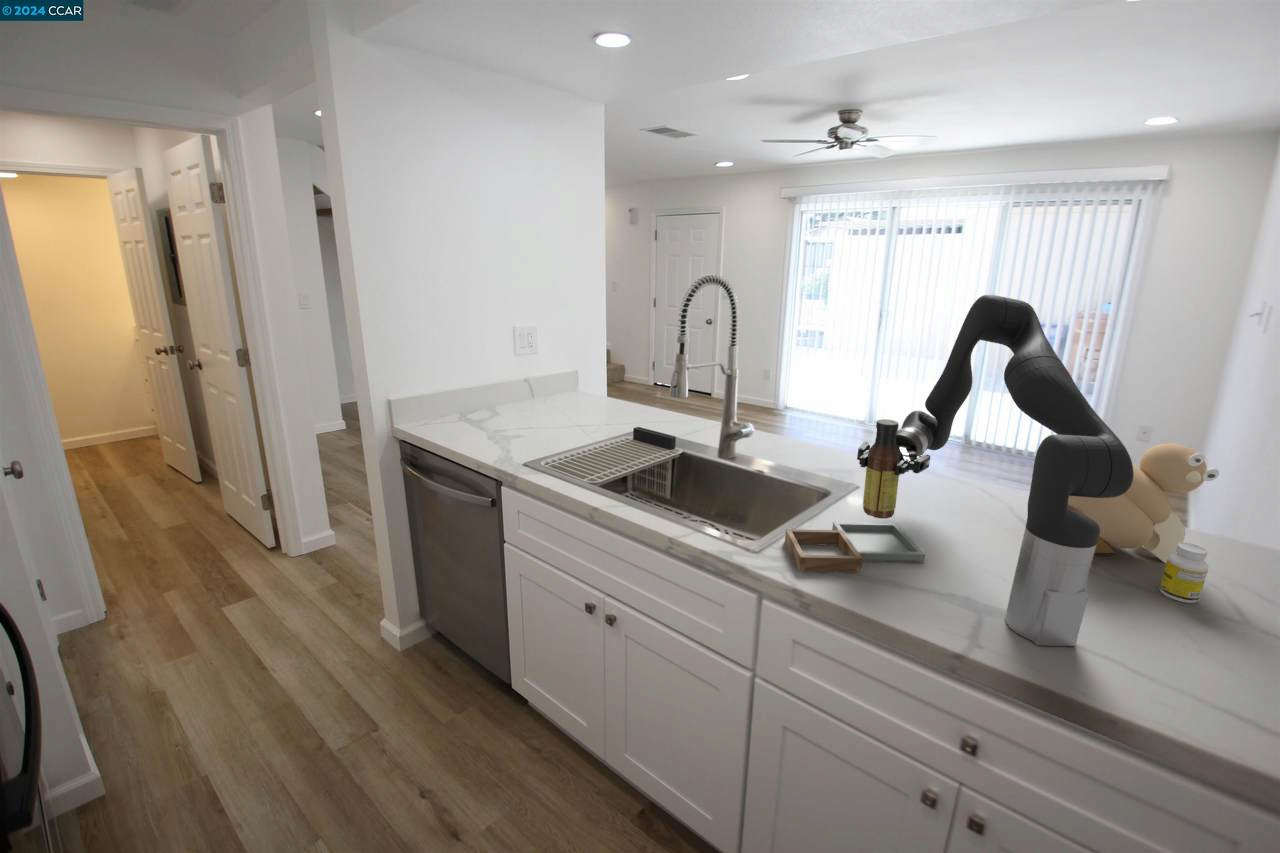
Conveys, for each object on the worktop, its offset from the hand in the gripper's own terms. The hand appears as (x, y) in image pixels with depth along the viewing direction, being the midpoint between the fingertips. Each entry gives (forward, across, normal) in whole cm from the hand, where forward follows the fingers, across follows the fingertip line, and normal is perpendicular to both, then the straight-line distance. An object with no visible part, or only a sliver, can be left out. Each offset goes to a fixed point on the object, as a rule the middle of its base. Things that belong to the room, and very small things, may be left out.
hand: (879, 466), depth 115 cm
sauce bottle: (-2, 0, +11) cm, 11 cm away
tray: (-3, 0, +19) cm, 19 cm away
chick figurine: (-35, +36, +19) cm, 54 cm away
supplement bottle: (-21, +49, +19) cm, 57 cm away
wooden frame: (+9, -6, +19) cm, 22 cm away
